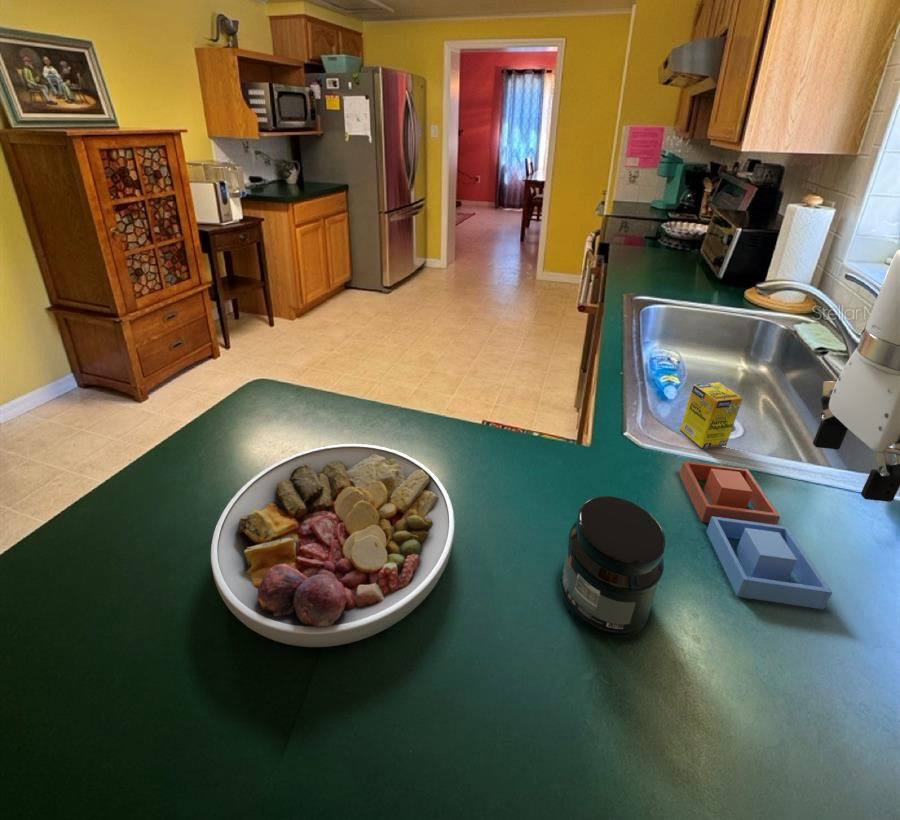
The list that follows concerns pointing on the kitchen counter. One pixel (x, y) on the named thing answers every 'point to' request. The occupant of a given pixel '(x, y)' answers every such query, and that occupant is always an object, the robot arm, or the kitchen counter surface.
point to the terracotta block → (727, 489)
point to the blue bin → (763, 589)
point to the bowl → (332, 544)
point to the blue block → (765, 555)
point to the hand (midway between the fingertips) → (848, 471)
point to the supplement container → (613, 566)
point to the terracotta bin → (706, 510)
